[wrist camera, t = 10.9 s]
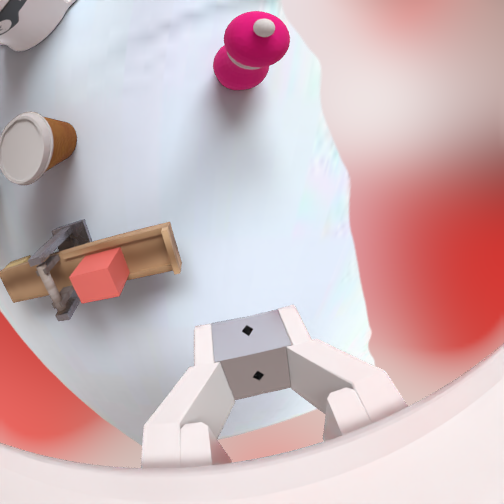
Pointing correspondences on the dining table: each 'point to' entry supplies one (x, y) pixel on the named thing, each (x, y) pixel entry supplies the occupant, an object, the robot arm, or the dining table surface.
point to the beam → (65, 262)
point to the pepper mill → (250, 49)
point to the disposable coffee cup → (34, 146)
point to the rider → (100, 275)
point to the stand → (63, 240)
